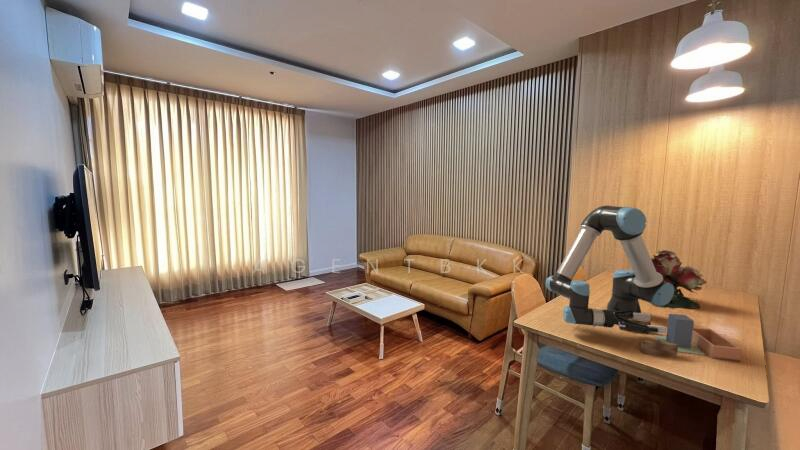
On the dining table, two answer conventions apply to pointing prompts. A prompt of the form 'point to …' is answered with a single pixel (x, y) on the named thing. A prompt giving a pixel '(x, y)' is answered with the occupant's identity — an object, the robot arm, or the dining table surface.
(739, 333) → the dining table surface
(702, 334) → the tan open box
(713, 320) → the dining table surface
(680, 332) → the tall block
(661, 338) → the pad
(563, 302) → the dining table surface
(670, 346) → the walled lane
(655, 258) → the rose bouquet
